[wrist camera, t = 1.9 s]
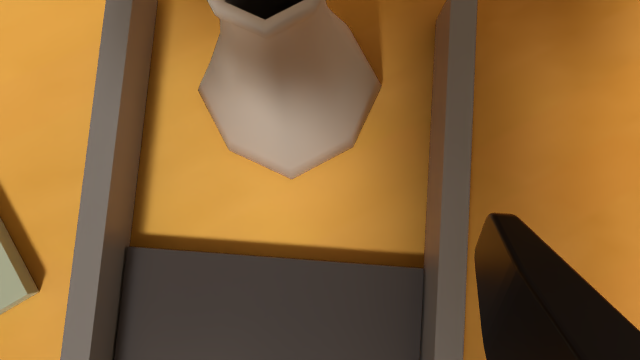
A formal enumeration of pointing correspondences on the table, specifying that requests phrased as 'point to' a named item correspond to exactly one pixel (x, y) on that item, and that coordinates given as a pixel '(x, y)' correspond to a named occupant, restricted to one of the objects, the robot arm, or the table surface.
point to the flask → (287, 83)
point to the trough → (262, 271)
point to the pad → (13, 274)
